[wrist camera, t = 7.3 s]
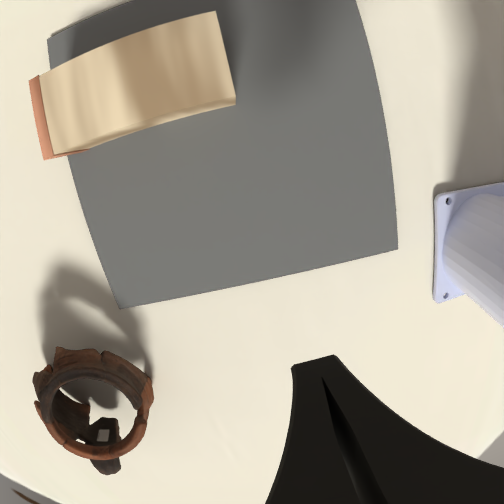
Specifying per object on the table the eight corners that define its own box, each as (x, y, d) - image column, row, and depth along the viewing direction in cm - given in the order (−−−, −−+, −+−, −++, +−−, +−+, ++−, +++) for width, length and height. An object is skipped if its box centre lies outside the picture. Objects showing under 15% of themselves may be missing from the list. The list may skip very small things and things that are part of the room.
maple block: (215, 9, 10) (28, 80, 10) (235, 96, 12) (43, 160, 12) (219, 36, 14) (67, 87, 14) (235, 105, 15) (81, 152, 16)
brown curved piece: (27, 333, 21) (4, 369, 14) (129, 312, 25) (144, 341, 18) (73, 449, 22) (76, 506, 15) (163, 429, 27) (189, 480, 19)
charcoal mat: (341, -31, 13) (343, -34, 12) (395, 246, 19) (398, 249, 19) (50, 40, 13) (47, 39, 13) (121, 306, 20) (119, 309, 19)
